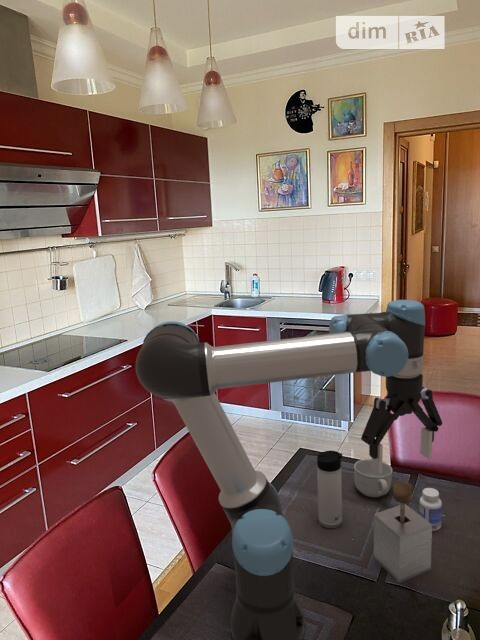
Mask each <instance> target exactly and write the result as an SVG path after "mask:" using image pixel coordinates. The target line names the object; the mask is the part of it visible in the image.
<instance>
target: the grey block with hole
mask: <svg viewBox="0 0 480 640" xmlns="http://www.w3.org/2000/svg"><path fill="white" fill-rule="evenodd" d="M432 535H433V531H432V524H431V523H429V522H428V521H427V520H426V519H424V518H423V517H422V516H420V515H419V513H418V512H417V511H415V510H414V509H413V508H412V507H410V506H409V505H407V503H405V523H403V524H401V523H400V504H399V505H396V506H393V507H391V508H388V507H385V508H382V509H379V510H378V512H376V513H373V559H374V560H376V561H377V563H378V564H379V565H380V566H381V567H382V568H383V569H384V570H385V571H386V572H388V574H389V575H390V576H391V577H392V578H394V580H395V581H396V582H397V583H398V584H400V583H404V582H406V581H408V580H411V579H413V578H415V577H417V576H420V575H422V574H425V573H427V572H429V571H431V569H432V567H431V566H432V544H433V543H432V541H433V539H432Z"/></svg>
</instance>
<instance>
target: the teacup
mask: <svg viewBox="0 0 480 640" xmlns="http://www.w3.org/2000/svg"><path fill="white" fill-rule="evenodd" d="M353 469H354V472H353V476H354V477H353V480H354V485H355V487H356V489H357V490H358V491H359V492H360V493H362V495H364V496H366V497H369V498H380V497H382V496H384V495H387V494H388V492H389V491H390V489H391V486H392V477H393V474H392V473H393V472H394V471H393V468H392V466H391V465H390V464H388V463H387V462H385V461H383V460H382V473H378V472H377V471H375V470H374V469H373V468H372V458H366V459H365V458H364V459H359V460H357V461H355V463H354V465H353Z"/></svg>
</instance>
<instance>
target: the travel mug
mask: <svg viewBox="0 0 480 640" xmlns="http://www.w3.org/2000/svg"><path fill="white" fill-rule="evenodd" d="M341 459H343V453H341V452H339V451H337V450H324V451H322V452H320V453H319V454H318V455H317V457H316V464H317V465H316V472H317V473H316V475H317V476H316V477H317V481H316V482H317V506H318V507H317V508H318V509H317V510H318V511H317V512H318V523H319V524H320V525H321V526H322V527H323V528H326V529H336V528H339V527H340V526H341V525H342V524H343V493H342V491H343V490H342V488H343V487H342V482H343V481H342V460H341Z"/></svg>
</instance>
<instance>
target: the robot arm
mask: <svg viewBox="0 0 480 640" xmlns="http://www.w3.org/2000/svg"><path fill="white" fill-rule="evenodd" d="M425 327H426V313H425V306H424V304H423V303H422V302H420V301H418V300H417V301H416V300H413V299H412V300H411V299H395V300H391V301H388V303H387V304H386V309H385V311H381V312H373V313H372V312H371V313H368V312H367V313H351V314H349V313H346V314H341V315H334V316H333V317H331V319H330V321H329V326H328V331H329V332H328V333H325V334H319V335H310V336H302V337H301V336H299V337H294V338H283V339H276V340H266V341H257V342H248V343H239V344H231V345H224V346H222V345H221V346H212V345H210V344H209V343H208V342H200V338H199V337H198V335H197V333H195V331H194V329H192V328H191V327H190V326H189V325H187V324H186V323H182V322H181V321H173V320H172V321H171V320H170V321H165V322H161V323H159V324H157V325H156V326H154V327H152V329H151V330H150V331H149V332H148V333H147V334H146V336H145V337H144V339H143V341H142V346H141V348H140V349H139V352H138V353H137V356H136V358H135V359H136V360H135V373H136V374H135V375H136V376H137V379H138V381H139V384H141V386H142V387H143V388H144V389H145V390H146V391H147V392H149V393H150V394H152V395H153V396H155V397H159V398H162V400H164V401H167V402H172V403H173V404H174V406H175V409H176V410H177V412H178V414H179V416H180V418H181V420H182V421H183V423H184V425H185V426H186V428H187V430H188V433H189V435H190V436H191V438H192V440H193V443H195V446H196V447H197V448H198V451H199V453H200V455H201V456H202V458H203V460H204V462H205V464H206V465H207V467H208V469H209V471H210V472H211V475H212V476H213V478H214V480H215V482H216V484H217V486H218V488H219V490H220V492H219V494H218V501H219V504H220V506H221V508H222V510H223V511H224V513H225V515H226V517H227V519H228V521H229V523H230V526H231V546H232V547H231V548H232V551H233V562H234V575H235V586H236V587H235V588H236V596H235V599H234V603H233V607H232V609H231V612H230V613H231V614H230V617H229V618H230V621H229V622H230V632H231V633H232V634H231V637H232V639H233V640H302V639H303V638H304V636H305V635H304V634H305V628H306V627H305V615H304V611H303V608H302V606H301V604H300V602H299V599H298V597H297V594H296V592H295V579H294V578H295V577H294V576H295V575H294V574H295V573H294V553H293V551H294V538H293V534H292V529H291V527H290V524H289V523H288V521H287V520H286V518H285V517H284V514H283V510H282V503H281V499H280V495H279V494H278V491H277V490H276V488H275V486H273V484H272V483H271V482H269V481H268V479H267V478H268V477H266V475H265V473H263V472H262V471H260V470H256V469H255V468H254V466H253V463H252V462H251V461H250V458H249V456H248V455H247V452H246V451H245V449H244V446H243V445H242V443H241V441H240V439H239V437H238V435H237V433H236V431H235V429H234V427H233V425H232V423H231V422H230V420H229V417H228V416H227V413H226V412H225V410H224V408H223V406H222V405H221V402H220V401H219V398H218V396H217V395H216V392H217V390H220V389H221V390H222V389H228V388H230V389H231V388H237V387H244V386H246V387H247V386H255V385H263V384H271V383H278V382H286V381H296V380H297V381H298V380H305V379H313V378H319V377H328V376H339V375H345V374H346V375H347V374H355V373H364V372H372V373H373V374H374V375H378V376H380V377H385V388H386V393H387V394H386V397H385V398H379V397H375V398H374V401H373V408H372V410H371V412H370V415H369V418H368V421H367V422H366V425H365V427H364V430H363V433H362V434H361V441H363V442H364V443H365V444H367V445H368V446H369V447H368V450H369V451H368V455H369V457H371V459H372V468H373V469H374V470H375V471H377V472H378V473H382V461H383V452H384V451H383V448H384V447H383V444H382V443H381V442H382V441H383V439H384V438H385V436H386V434H387V433H388V431H389V430H390V428H391V427H392V425H393V423H394V422H396V421H397V420H398V419H399V417H402V416H403V417H404V416H405V415H410V414H412V413H413V414H414V415H415V416H416V418H417V419H418V420H419V422H421V423H422V425H423V426H422V427H420V449H419V451H420V453H419V454H420V455H422V456H423V457H425V458H427V459H432V454H433V453H432V452H433V450H432V449H433V443H434V438H435V433H437V432H439V427H441V426H442V425H443V421H442V418H441V416H440V415H441V414H440V413H439V411H438V408H437V406H436V404H435V400H434V399H433V398H434V397H433V390H431V389H429V388H427V387H425V386H424V385H423V381H424V376H423V374H422V373H423V372H424V347H425V346H424V344H425V343H424V342H425V340H424V339H425V329H426V328H425ZM420 400H421V402H422V405H423V407H424V409H423V407H421V405H420V404H419V402H420ZM424 410H425V411H426V412H425V411H424ZM391 412H392V413H391Z"/></svg>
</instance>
